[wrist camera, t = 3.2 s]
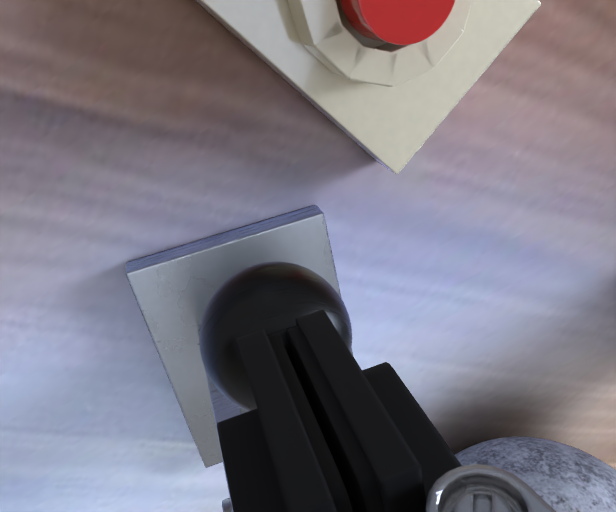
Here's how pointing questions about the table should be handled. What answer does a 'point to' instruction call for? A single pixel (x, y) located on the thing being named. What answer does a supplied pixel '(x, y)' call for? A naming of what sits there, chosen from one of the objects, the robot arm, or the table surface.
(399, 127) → the button block
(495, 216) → the table surface
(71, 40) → the table surface
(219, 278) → the lever bracket
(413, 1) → the button
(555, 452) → the decorative orb
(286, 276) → the black ball knob lever
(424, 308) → the table surface
